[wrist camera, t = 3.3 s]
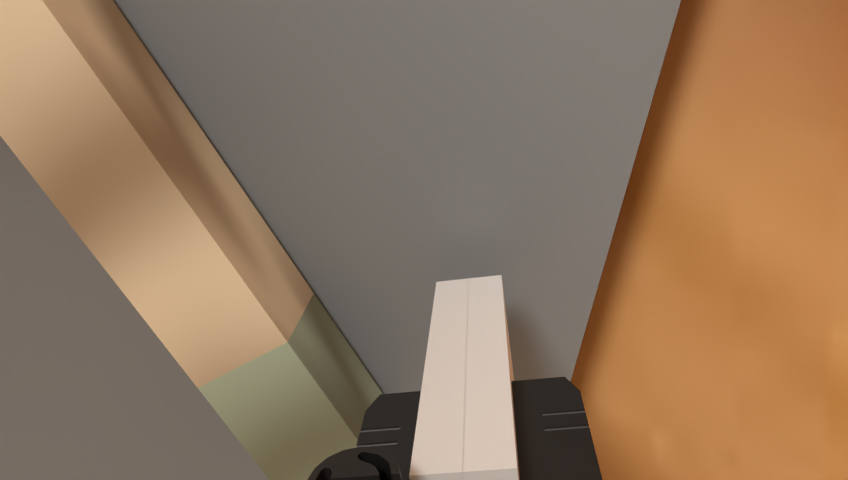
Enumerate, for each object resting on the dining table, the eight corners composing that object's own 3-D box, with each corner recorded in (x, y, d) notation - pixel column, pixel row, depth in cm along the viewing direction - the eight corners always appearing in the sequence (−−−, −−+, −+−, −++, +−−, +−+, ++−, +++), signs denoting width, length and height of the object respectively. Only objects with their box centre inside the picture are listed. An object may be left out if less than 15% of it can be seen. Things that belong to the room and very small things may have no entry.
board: (-317, -375, 14) (-386, -407, 13) (720, -192, 14) (740, -207, 13) (-163, 463, 22) (-197, 489, 21) (499, 589, 22) (500, 622, 21)
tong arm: (-60, -63, 15) (-163, -73, 12) (23, -131, 14) (-68, -154, 12) (319, 447, 19) (296, 513, 16) (395, 412, 18) (383, 476, 16)
